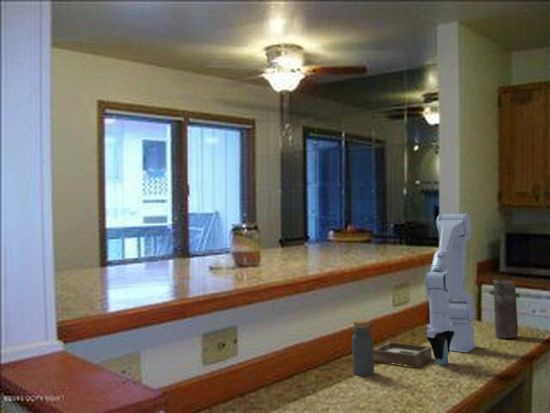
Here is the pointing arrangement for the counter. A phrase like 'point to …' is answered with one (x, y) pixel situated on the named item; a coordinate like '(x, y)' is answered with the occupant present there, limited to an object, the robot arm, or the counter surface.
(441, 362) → the peg
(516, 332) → the candle
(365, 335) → the bottle
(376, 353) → the box
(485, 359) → the counter surface
